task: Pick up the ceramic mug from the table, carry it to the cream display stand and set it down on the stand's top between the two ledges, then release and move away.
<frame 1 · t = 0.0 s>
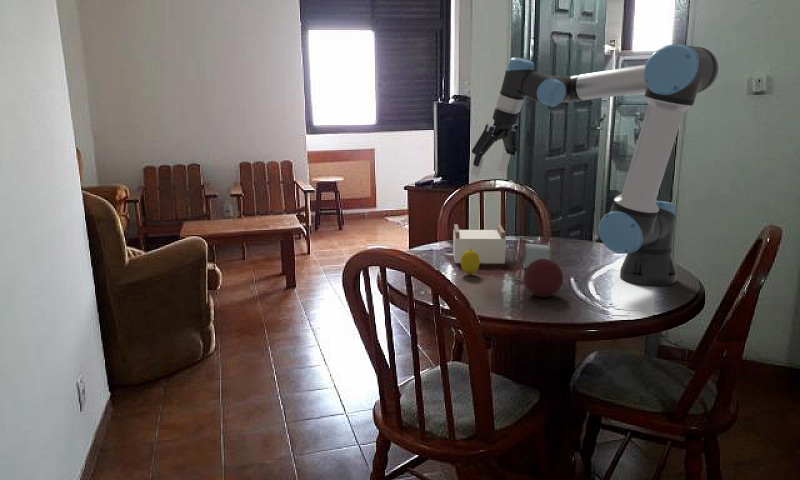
hand: (488, 173, 202), 28 cm above the table, tool tilted 20°, fingers open, 13 cm apart
decorative ball: (542, 296, 167), on the table
lemon: (469, 275, 187), on the table
display stand: (478, 257, 208), on the table
ceramic mug: (535, 267, 196), on the table
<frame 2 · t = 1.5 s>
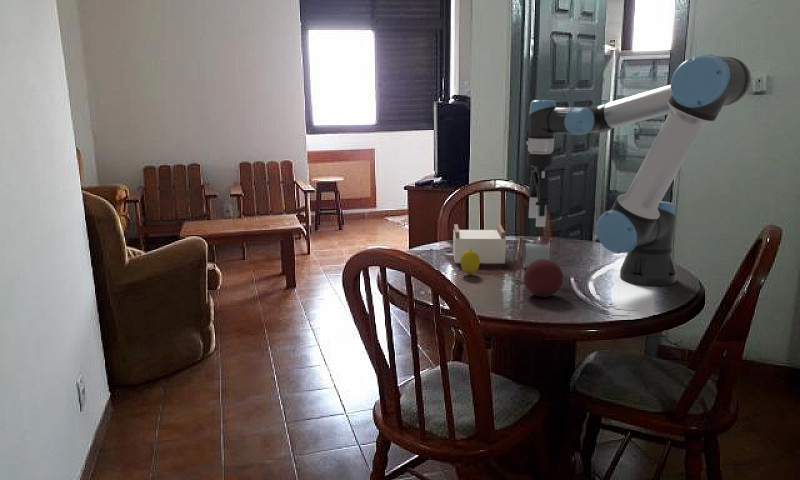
hand: (536, 222, 193), 14 cm above the table, tool pointing down, fingers open, 13 cm apart
nothing on the table moved.
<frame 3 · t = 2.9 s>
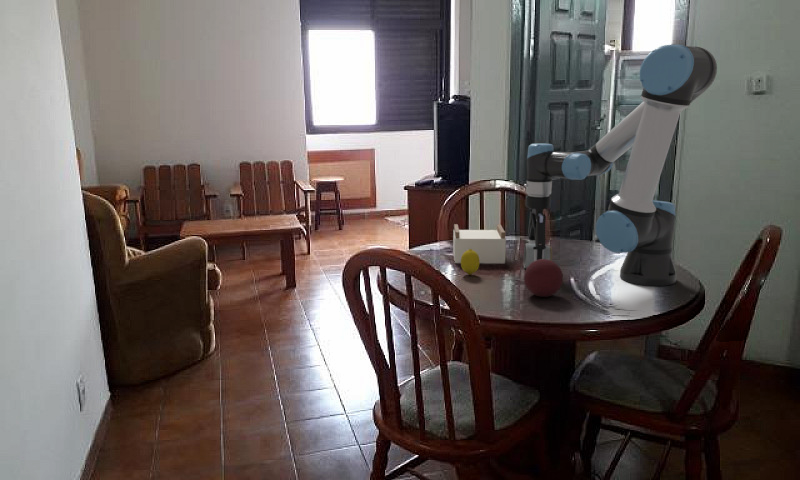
hand: (535, 264, 196), 1 cm above the table, tool pointing down, fingers closed on ceramic mug, 11 cm apart
ceramic mug: (535, 267, 196), on the table, touching gripper
everything else where it was.
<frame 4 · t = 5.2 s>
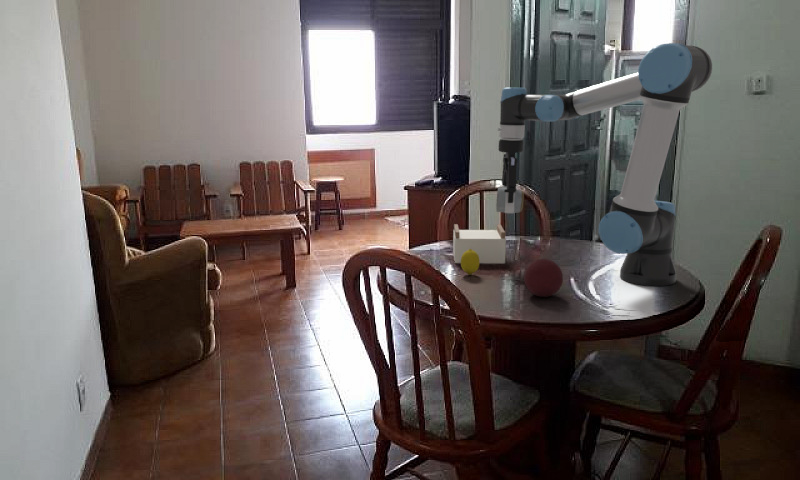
hand: (507, 209, 199), 17 cm above the table, tool pointing down, fingers closed on ceramic mug, 11 cm apart
ceramic mug: (507, 212, 198), point 16 cm above the table, touching gripper
everything else where it was.
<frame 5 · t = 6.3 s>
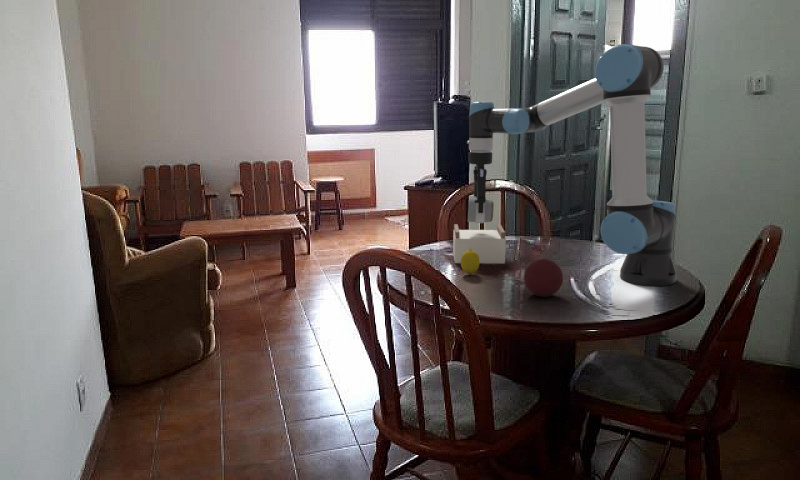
hand: (478, 219, 205), 13 cm above the table, tool pointing down, fingers closed on ceramic mug, 11 cm apart
ceramic mug: (479, 221, 205), point 12 cm above the table, touching gripper
everything else where it was.
when the fingers open (10 cm above the table, at t = 7.3 s): ceramic mug drops 2 cm, resting on display stand.
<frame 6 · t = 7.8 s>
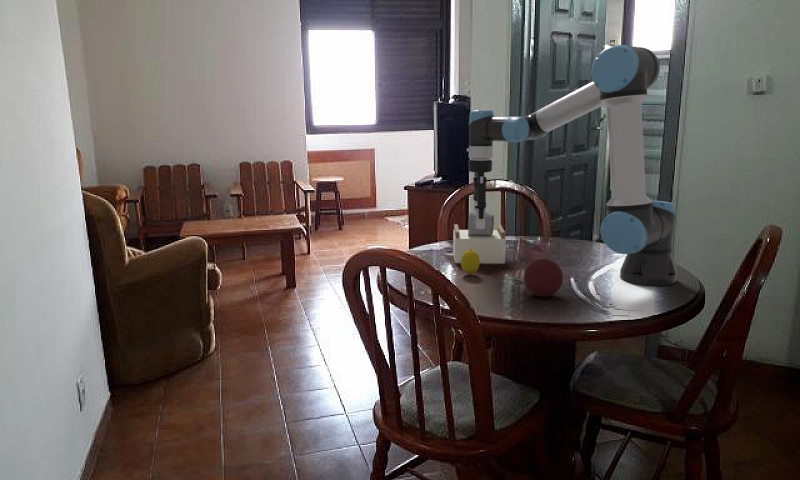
hand: (478, 224, 205), 11 cm above the table, tool pointing down, fingers open, 13 cm apart
ceramic mug: (479, 235, 206), point 8 cm above the table, touching display stand
everything else where it was.
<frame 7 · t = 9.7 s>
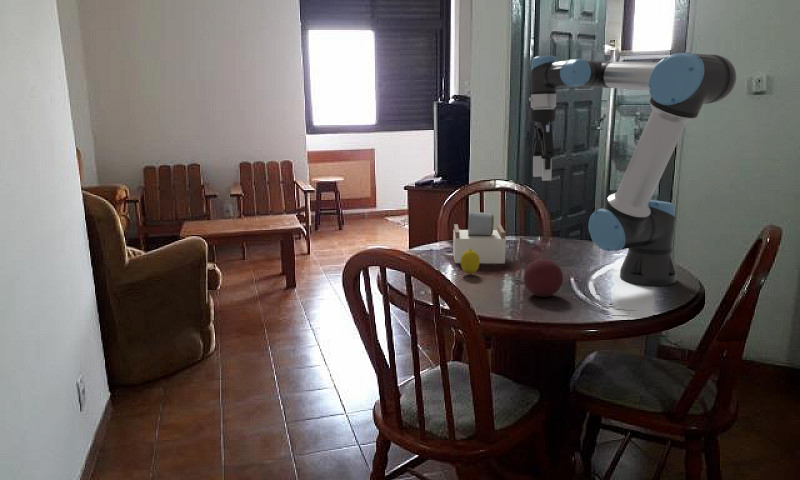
hand: (541, 178, 196), 27 cm above the table, tool pointing down, fingers open, 13 cm apart
nothing on the table moved.
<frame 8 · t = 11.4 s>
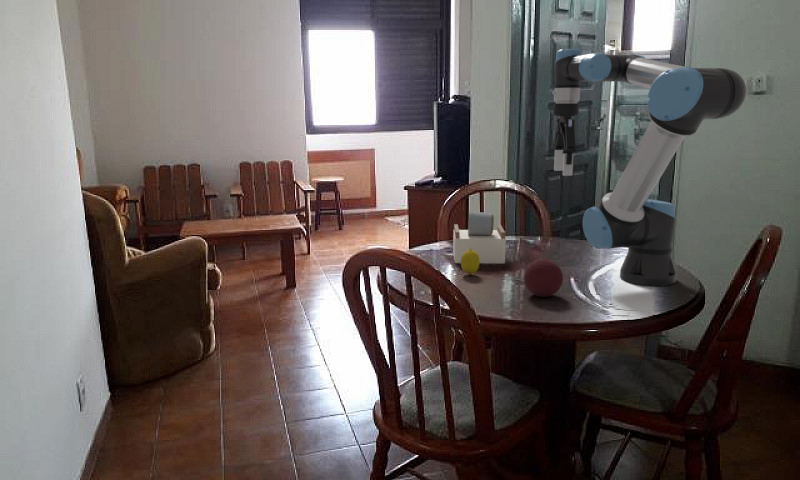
hand: (562, 173, 194), 29 cm above the table, tool pointing down, fingers open, 13 cm apart
nothing on the table moved.
at the end: ceramic mug inside the target area on the display stand (0.4 cm from its centre), point 7.8 cm above the display stand's base; ceramic mug tilted 0°; the gripper is holding nothing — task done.
